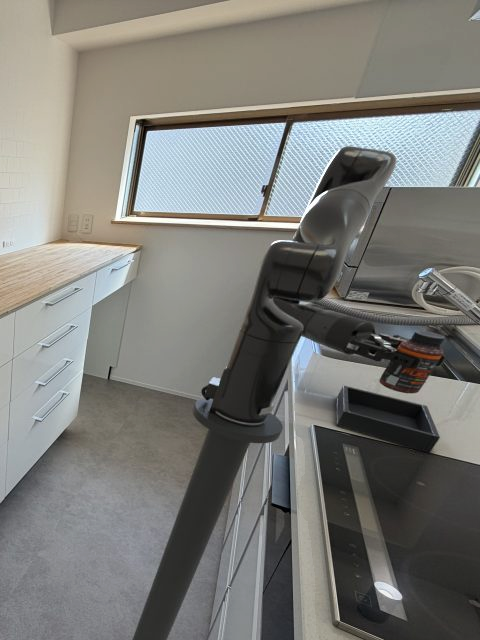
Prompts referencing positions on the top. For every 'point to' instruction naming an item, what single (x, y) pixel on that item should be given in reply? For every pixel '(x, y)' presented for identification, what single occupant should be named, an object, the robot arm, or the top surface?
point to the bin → (386, 418)
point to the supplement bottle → (414, 379)
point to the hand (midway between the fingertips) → (431, 362)
